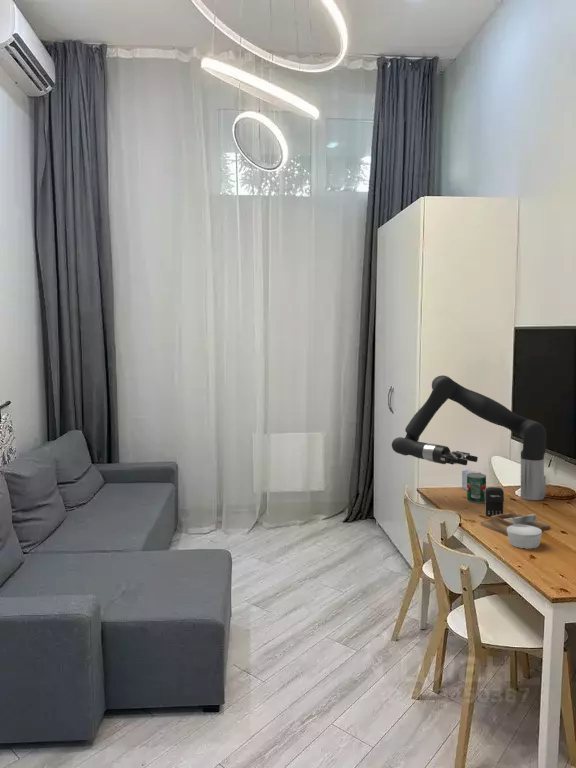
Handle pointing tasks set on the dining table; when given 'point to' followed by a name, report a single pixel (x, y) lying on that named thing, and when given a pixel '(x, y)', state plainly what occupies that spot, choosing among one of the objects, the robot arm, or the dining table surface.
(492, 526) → the rail board
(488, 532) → the dining table surface
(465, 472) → the medicine box
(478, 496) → the canned tomato
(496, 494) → the battery charger
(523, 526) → the ramekin
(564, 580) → the dining table surface
